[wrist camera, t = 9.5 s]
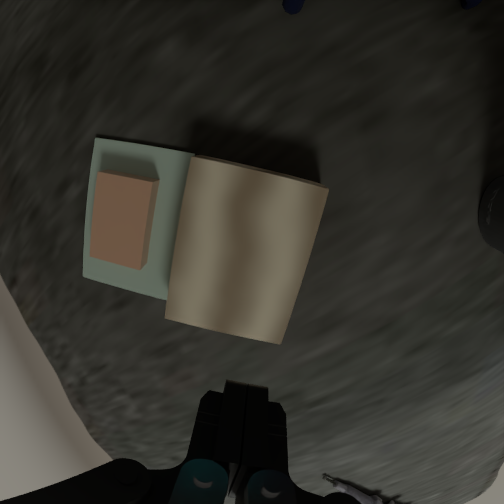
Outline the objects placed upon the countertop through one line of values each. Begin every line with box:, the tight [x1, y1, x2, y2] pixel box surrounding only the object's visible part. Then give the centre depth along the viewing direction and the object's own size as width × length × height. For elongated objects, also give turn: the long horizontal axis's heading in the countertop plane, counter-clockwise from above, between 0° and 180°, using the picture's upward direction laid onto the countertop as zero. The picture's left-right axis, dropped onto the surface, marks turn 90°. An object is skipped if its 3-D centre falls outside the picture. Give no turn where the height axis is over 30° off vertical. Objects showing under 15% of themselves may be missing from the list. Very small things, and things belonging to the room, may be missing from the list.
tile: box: [90, 169, 160, 270], centre depth 31 cm, size 6×9×2 cm, turn 166°
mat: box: [83, 138, 195, 300], centre depth 32 cm, size 11×16×1 cm
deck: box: [165, 155, 329, 344], centre depth 31 cm, size 12×16×4 cm
